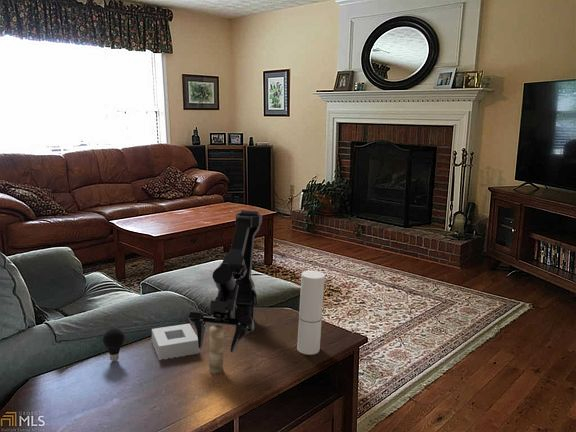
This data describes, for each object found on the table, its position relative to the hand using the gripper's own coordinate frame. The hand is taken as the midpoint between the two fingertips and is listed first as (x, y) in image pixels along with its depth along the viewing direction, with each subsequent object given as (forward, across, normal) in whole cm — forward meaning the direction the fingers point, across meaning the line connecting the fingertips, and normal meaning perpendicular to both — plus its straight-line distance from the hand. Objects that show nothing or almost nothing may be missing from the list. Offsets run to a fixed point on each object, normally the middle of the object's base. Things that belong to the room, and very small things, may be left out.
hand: (215, 349), depth 134 cm
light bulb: (+5, -30, +5) cm, 31 cm away
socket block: (-3, -16, +13) cm, 21 cm away
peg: (+4, 0, +6) cm, 7 cm away
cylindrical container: (-9, +25, +19) cm, 33 cm away
